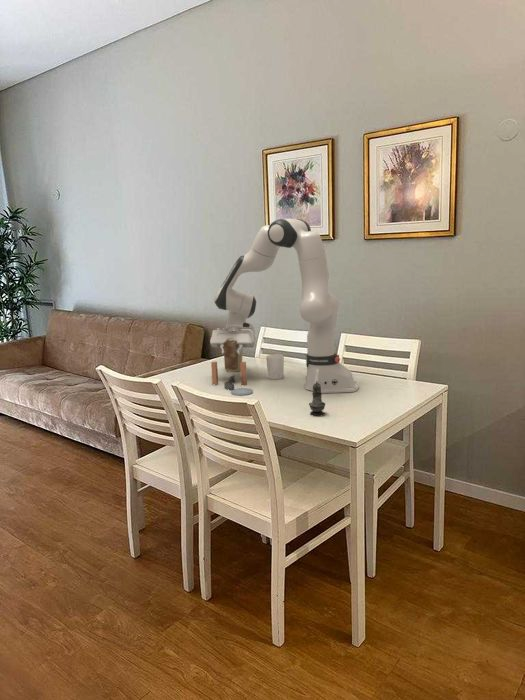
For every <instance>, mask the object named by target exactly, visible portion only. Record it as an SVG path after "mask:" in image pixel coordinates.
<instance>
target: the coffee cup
mask: <svg viewBox="0 0 525 700" xmlns="http://www.w3.org/2000/svg"><path fill="white" fill-rule="evenodd" d="M239 348H240V347H237V350H238V349H239ZM241 362H243V350H242V351H241V352H240V355H238V368H237V369H236V370H225V371H226V372H228V371H230V372H229V373H236V372H235V371H238V372H241V371H240V370H241V367H240V363H241Z"/></svg>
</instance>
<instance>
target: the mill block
mask: <svg viewBox="0 0 525 700" xmlns="http://www.w3.org/2000/svg"><path fill="white" fill-rule="evenodd" d="M223 345H224V355H223V360H224V362H223V363H224V370H225V371H226V370H236V369H237V368H238V355H236V350H237V341H234V339H233V338H228V339H226V341H225V342H224V343H223Z"/></svg>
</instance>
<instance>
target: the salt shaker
mask: <svg viewBox="0 0 525 700" xmlns="http://www.w3.org/2000/svg"><path fill="white" fill-rule="evenodd" d="M311 395H312V400H311V402H309V403H308V406H309V408H310V410H311V412H310V413H309V415H310V416H312V415H313V417H321V415H322V416H324V415H325V414H326V413H325V411H324V409H325V408H326V407H325V406H326V402H324V401H323V400H322V395H323V393H321V385H320V384H318V383H317V381H316V383H315V384H314V385H313V391H312V393H311Z"/></svg>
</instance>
